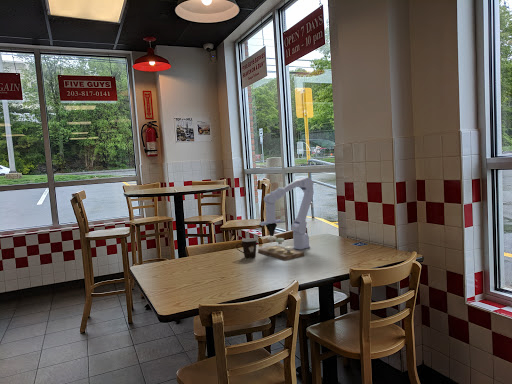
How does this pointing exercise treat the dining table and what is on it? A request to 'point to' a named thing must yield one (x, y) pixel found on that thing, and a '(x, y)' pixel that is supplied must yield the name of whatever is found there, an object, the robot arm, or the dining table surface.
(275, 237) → the ivory knob
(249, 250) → the coffee mug
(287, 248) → the ivory knob
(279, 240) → the middle sage knob
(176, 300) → the dining table surface
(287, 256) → the knob board
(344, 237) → the dining table surface
